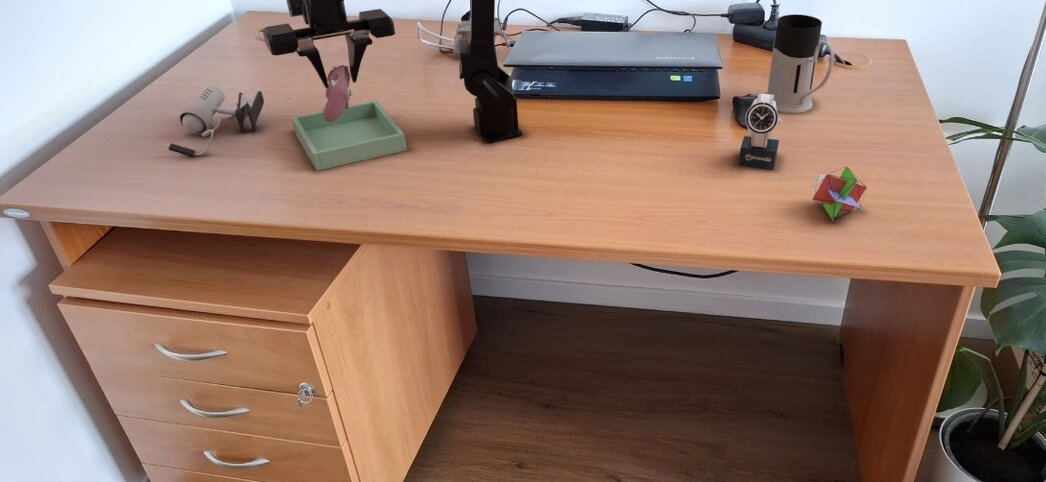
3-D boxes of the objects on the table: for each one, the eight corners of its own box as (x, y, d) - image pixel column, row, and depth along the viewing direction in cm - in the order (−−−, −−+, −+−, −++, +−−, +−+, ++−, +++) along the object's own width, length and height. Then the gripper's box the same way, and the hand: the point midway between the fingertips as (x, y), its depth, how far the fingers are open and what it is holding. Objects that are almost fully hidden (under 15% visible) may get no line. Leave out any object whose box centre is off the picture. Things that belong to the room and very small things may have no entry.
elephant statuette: (462, 46, 173) (458, 10, 169) (517, 49, 172) (515, 12, 168) (450, 62, 166) (446, 25, 161) (508, 65, 164) (506, 27, 160)
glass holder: (793, 90, 154) (804, 10, 145) (842, 119, 143) (857, 35, 135) (754, 98, 151) (763, 17, 142) (801, 128, 140) (814, 43, 132)
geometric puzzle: (864, 185, 120) (840, 147, 115) (883, 209, 114) (858, 170, 110) (822, 213, 122) (796, 177, 117) (838, 238, 116) (812, 201, 112)
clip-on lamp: (229, 175, 133) (272, 108, 145) (218, 145, 128) (264, 78, 140) (159, 165, 133) (208, 99, 145) (145, 135, 128) (197, 69, 140)
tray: (379, 115, 145) (376, 100, 143) (406, 150, 134) (404, 134, 132) (295, 132, 139) (291, 117, 137) (316, 170, 128) (313, 154, 126)
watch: (736, 171, 128) (743, 105, 121) (743, 148, 134) (750, 84, 128) (772, 175, 127) (782, 109, 120) (778, 152, 133) (787, 88, 127)
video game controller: (354, 124, 127) (351, 81, 124) (323, 124, 126) (319, 80, 122) (355, 99, 135) (352, 58, 131) (326, 99, 134) (322, 57, 130)
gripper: (367, -37, 131) (382, 58, 140) (245, -20, 123) (270, 78, 132) (388, -20, 123) (403, 79, 132) (259, -1, 115) (284, 103, 124)
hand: (340, 84), depth 130 cm, fingers closed on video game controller, 4 cm apart
